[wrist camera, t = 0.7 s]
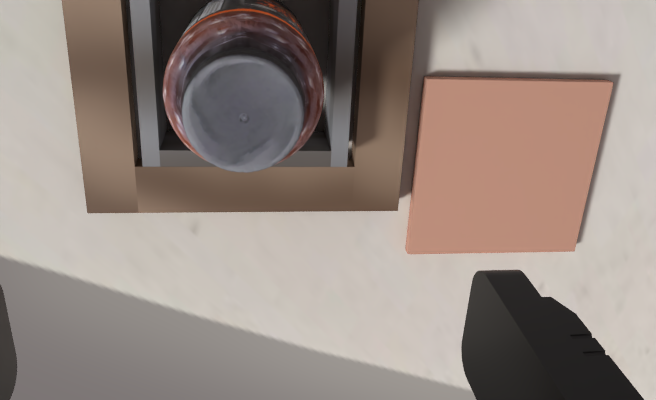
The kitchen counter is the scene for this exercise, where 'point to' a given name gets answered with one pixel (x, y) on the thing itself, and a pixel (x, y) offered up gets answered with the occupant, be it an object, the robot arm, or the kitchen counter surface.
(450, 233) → the mat
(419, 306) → the kitchen counter surface
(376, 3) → the wooden square tray
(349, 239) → the kitchen counter surface
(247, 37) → the supplement bottle
